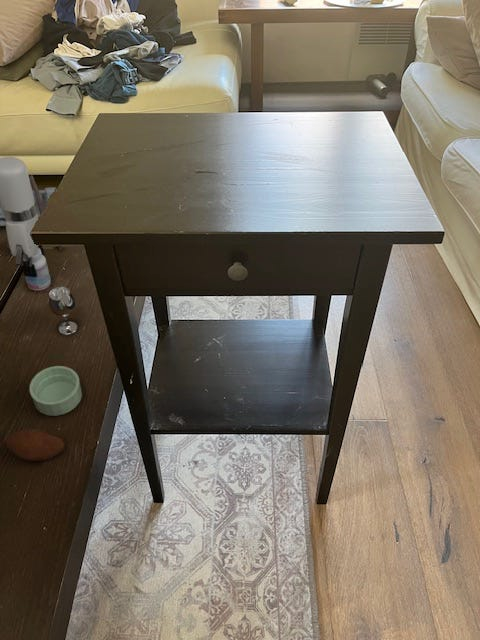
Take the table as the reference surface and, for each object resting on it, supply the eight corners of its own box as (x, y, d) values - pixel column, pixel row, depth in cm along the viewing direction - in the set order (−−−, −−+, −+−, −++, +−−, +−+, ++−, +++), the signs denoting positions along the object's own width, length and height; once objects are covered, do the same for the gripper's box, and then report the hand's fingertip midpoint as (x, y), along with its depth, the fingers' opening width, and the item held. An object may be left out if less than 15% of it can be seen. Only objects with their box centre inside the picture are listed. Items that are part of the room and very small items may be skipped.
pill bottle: (23, 284, 135) (13, 252, 127) (41, 273, 138) (32, 241, 130) (38, 294, 132) (29, 262, 124) (56, 283, 136) (48, 250, 128)
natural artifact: (68, 246, 148) (59, 251, 150) (34, 174, 144) (25, 180, 146) (59, 249, 144) (50, 253, 146) (23, 175, 141) (15, 181, 143)
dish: (27, 415, 107) (22, 401, 103) (43, 377, 114) (38, 363, 111) (75, 419, 107) (71, 406, 104) (87, 381, 114) (84, 368, 111)
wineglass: (64, 340, 122) (56, 305, 114) (51, 327, 125) (41, 292, 116) (84, 328, 126) (77, 294, 117) (71, 316, 128) (63, 281, 120)
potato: (61, 467, 99) (55, 450, 95) (3, 464, 99) (-6, 447, 94) (69, 441, 104) (64, 423, 99) (14, 438, 103) (6, 420, 99)
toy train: (68, 191, 147) (72, 180, 160) (-33, 191, 141) (-19, 180, 154) (72, 227, 152) (76, 214, 165) (-25, 229, 146) (-13, 215, 159)
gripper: (17, 189, 124) (32, 246, 137) (-11, 229, 112) (8, 288, 125) (47, 192, 124) (59, 249, 137) (22, 232, 112) (38, 291, 125)
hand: (35, 267), depth 131 cm, fingers closed on pill bottle, 6 cm apart
